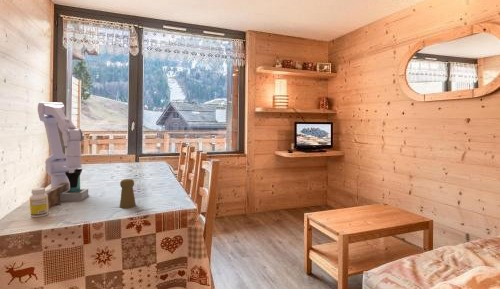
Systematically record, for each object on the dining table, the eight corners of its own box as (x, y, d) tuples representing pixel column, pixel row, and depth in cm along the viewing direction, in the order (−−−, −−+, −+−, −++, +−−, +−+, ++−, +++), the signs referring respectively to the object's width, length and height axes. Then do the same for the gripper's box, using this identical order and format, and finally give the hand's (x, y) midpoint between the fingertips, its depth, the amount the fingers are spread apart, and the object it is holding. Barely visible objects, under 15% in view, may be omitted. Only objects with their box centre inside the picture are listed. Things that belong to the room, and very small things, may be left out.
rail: (63, 195, 135) (62, 182, 135) (69, 195, 136) (68, 182, 135) (39, 209, 114) (39, 194, 113) (47, 209, 114) (46, 193, 114)
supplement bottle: (36, 213, 109) (35, 187, 108) (52, 212, 109) (50, 187, 109) (27, 217, 104) (25, 190, 103) (43, 217, 104) (41, 190, 103)
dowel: (76, 189, 133) (76, 174, 133) (82, 190, 131) (81, 175, 131) (67, 191, 130) (67, 175, 129) (73, 192, 128) (73, 176, 127)
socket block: (67, 197, 134) (67, 189, 134) (88, 196, 136) (88, 188, 135) (60, 201, 125) (59, 193, 125) (81, 200, 127) (81, 193, 127)
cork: (130, 208, 115) (129, 181, 114) (116, 207, 116) (115, 180, 115) (138, 204, 121) (138, 178, 120) (125, 203, 122) (125, 177, 121)
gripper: (65, 154, 134) (67, 184, 135) (59, 158, 121) (61, 190, 122) (83, 154, 137) (84, 182, 138) (79, 157, 124) (80, 189, 125)
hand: (74, 186), depth 130 cm, fingers closed on dowel, 4 cm apart
